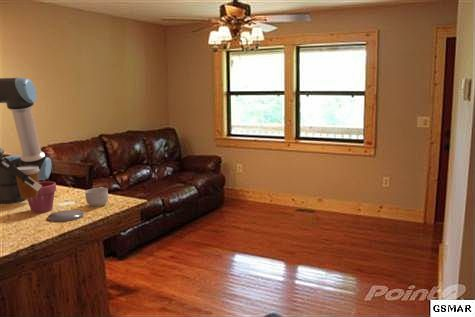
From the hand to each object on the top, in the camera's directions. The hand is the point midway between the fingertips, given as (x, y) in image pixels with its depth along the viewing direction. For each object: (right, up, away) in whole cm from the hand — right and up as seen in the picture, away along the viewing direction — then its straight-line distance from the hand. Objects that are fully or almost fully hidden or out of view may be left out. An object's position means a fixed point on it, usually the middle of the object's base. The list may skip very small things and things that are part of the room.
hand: (37, 186), depth 174 cm
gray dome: (+5, -15, +17) cm, 23 cm away
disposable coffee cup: (-2, -4, -1) cm, 5 cm away
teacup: (+14, -12, +37) cm, 41 cm away
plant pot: (-11, -14, +27) cm, 32 cm away
